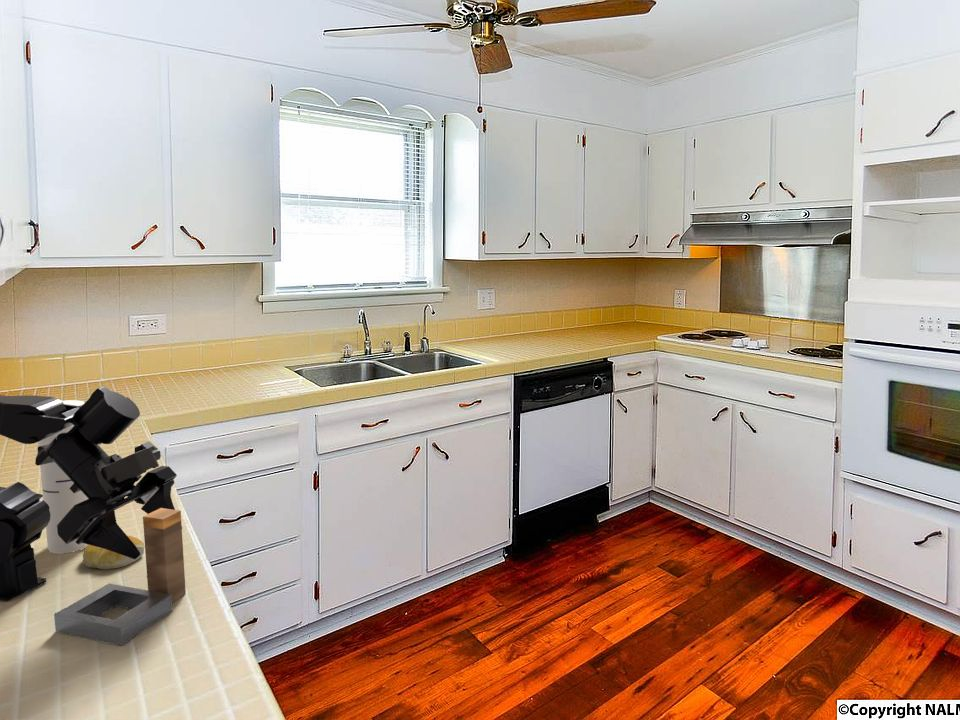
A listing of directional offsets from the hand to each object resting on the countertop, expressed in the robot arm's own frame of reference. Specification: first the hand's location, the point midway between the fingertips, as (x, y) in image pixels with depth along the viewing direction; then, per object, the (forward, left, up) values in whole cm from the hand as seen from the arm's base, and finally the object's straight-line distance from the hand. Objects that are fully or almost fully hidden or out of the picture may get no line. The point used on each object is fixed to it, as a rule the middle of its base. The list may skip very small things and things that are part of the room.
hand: (159, 543), depth 97 cm
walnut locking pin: (+1, 0, -8) cm, 8 cm away
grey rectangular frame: (-1, -8, -8) cm, 11 cm away
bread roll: (-17, +8, -9) cm, 21 cm away
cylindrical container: (-28, +10, -8) cm, 31 cm away
